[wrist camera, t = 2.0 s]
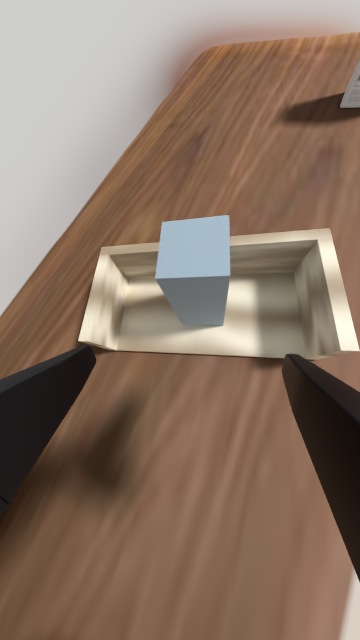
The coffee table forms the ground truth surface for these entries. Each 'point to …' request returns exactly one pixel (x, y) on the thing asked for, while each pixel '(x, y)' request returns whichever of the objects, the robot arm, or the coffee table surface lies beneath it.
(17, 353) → the coffee table surface
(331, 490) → the robot arm
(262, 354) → the birch crate
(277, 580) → the coffee table surface
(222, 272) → the pale blue block
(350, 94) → the ink box
